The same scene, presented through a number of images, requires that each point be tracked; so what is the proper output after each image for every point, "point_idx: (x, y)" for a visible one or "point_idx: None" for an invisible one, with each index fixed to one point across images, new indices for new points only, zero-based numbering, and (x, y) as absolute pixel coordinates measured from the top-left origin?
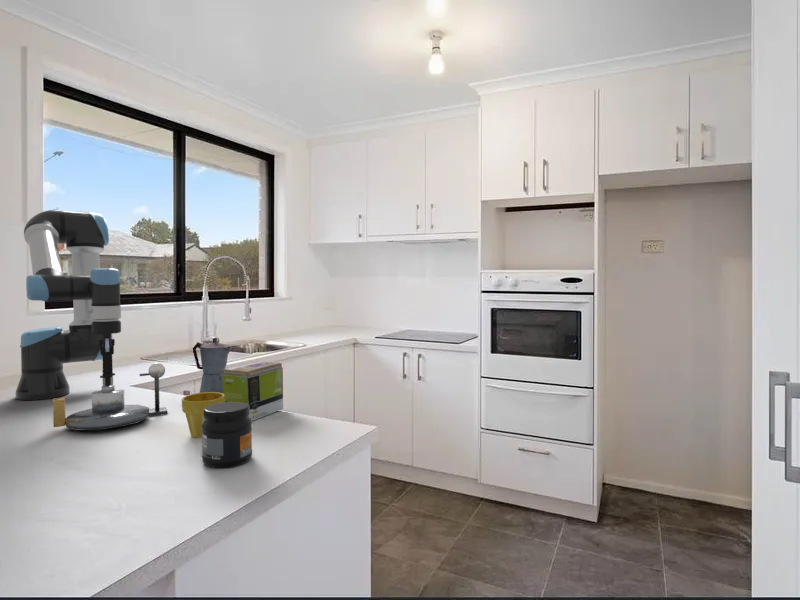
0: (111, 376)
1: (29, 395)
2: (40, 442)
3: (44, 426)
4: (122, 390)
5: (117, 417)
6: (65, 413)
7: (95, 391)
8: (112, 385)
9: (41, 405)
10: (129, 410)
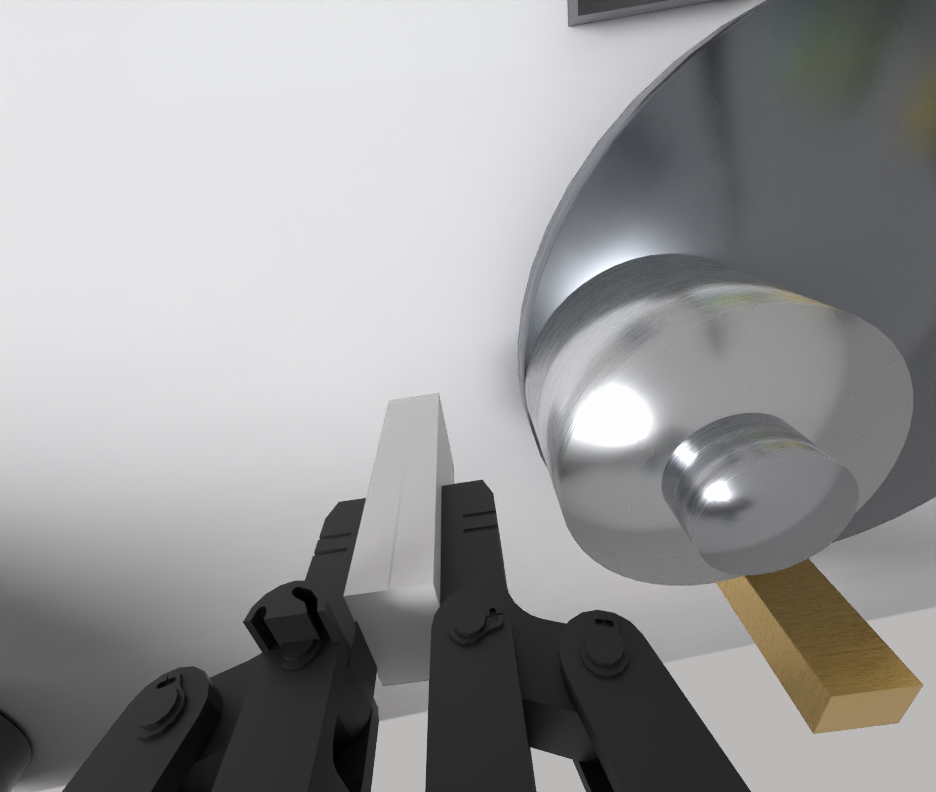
0: (501, 608)
1: (9, 775)
2: (892, 548)
3: (602, 594)
4: (770, 325)
5: None
6: (753, 584)
7: (628, 573)
8: (761, 482)
9: (141, 690)
10: (836, 186)
